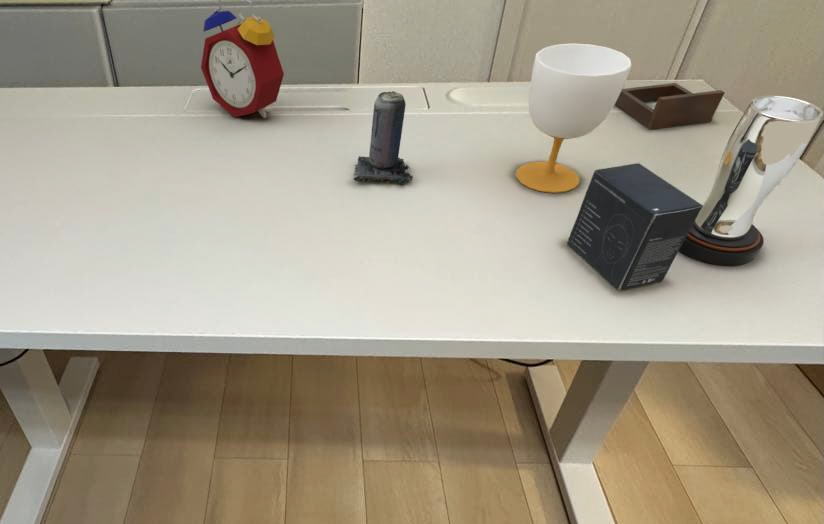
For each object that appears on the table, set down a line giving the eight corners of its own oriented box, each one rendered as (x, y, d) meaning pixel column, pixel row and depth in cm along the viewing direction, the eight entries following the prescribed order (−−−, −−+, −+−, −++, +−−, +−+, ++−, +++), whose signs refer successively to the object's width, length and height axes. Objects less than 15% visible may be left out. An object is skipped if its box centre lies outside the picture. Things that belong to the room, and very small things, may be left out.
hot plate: (719, 216, 79) (728, 200, 77) (775, 259, 72) (786, 243, 70) (650, 226, 78) (658, 210, 77) (700, 271, 71) (710, 255, 69)
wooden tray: (669, 96, 106) (681, 68, 103) (710, 122, 99) (725, 92, 95) (612, 103, 105) (622, 74, 102) (649, 129, 98) (662, 99, 94)
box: (665, 281, 70) (706, 205, 63) (617, 292, 69) (653, 216, 62) (608, 233, 77) (639, 160, 70) (564, 243, 76) (590, 169, 69)
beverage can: (403, 160, 94) (411, 84, 85) (414, 185, 88) (423, 105, 80) (346, 164, 94) (349, 88, 85) (354, 189, 88) (358, 110, 80)
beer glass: (761, 243, 70) (839, 122, 60) (698, 240, 71) (764, 120, 61) (739, 212, 75) (807, 95, 65) (680, 210, 76) (738, 93, 66)
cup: (513, 197, 85) (544, 76, 73) (501, 158, 93) (527, 43, 81) (598, 199, 83) (645, 75, 71) (578, 159, 92) (617, 42, 80)
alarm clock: (205, 108, 112) (189, -11, 98) (236, 93, 116) (225, -23, 102) (263, 127, 105) (254, 2, 90) (294, 110, 109) (290, -12, 95)
